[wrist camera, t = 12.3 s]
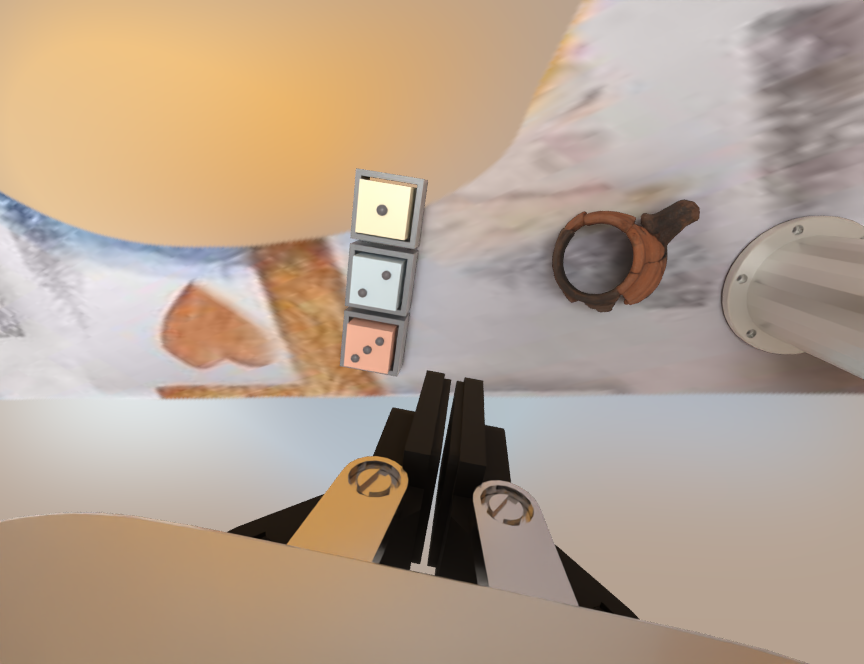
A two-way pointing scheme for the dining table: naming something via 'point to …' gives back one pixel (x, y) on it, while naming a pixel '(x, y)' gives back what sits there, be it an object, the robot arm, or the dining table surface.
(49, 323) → the dining table surface
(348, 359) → the button three
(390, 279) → the button two
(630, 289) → the pottery mug
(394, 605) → the robot arm
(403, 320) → the tile base
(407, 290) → the tile two base
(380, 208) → the button one
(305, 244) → the dining table surface
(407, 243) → the tile one base
